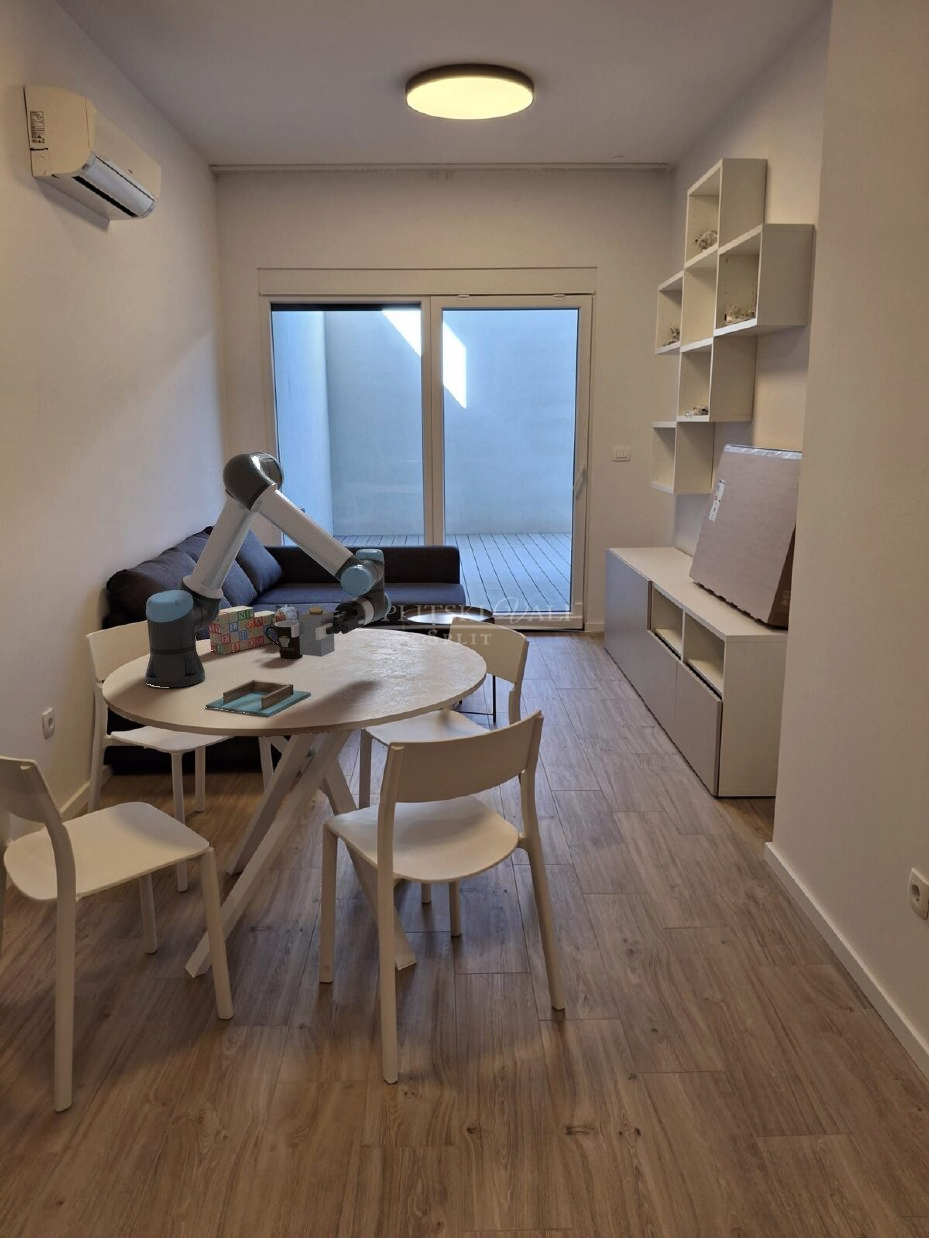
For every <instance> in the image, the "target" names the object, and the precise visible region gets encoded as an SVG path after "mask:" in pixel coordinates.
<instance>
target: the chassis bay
mask: <svg viewBox="0 0 929 1238" xmlns="http://www.w3.org/2000/svg"><path fill="white" fill-rule="evenodd" d="M311 693H312V692H311V691H302V690H295V689H294V684H291V683H290V684H289V683H282V682H277V681H276V682H273V681H267V680H266V681H265V680H258V679H252V680H249V681H248V682H245V683H243V684H240V685H238V686H236V687H234V688H231V689H229V690H226V691H224V692H223V693H222V695H223V696H222V697H221V698H217V699H216V700H214V701H211V702H209V703H207V704H205V708H206V707H207V708H206V709H209V708H218V709H223V710H228V711H227V712H230V711H234V712H233V713H237V712H242V713H241V714H244V713H243V712H245V713H249V714H248V715H252V714H254V715H253V716H259V715H262V716H261V717H266V716H267V717H266V718H269V717H271V716H273V715H275V714H277V713H279V712H281V711H283V710H285V709H287V708H289V707H291V706H292V705H295V704H296V703H298V702H300V701H302V700H304V699H306V698H308V697H311ZM223 710H222V711H223Z"/></svg>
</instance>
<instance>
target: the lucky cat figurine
mask: <svg viewBox="0 0 929 1238" xmlns="http://www.w3.org/2000/svg"><path fill="white" fill-rule="evenodd" d="M274 612H275V616H274V618H273V624H274V627H275V623H277V622H281V621H291V620H295V621H298V619H299V614H300V613H301V612H299V610H298V608H297V607H294V606H290V605H289V604H285V605H284V606H281V605H278V604H277V605H275V611H274Z"/></svg>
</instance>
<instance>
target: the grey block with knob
mask: <svg viewBox="0 0 929 1238" xmlns="http://www.w3.org/2000/svg"><path fill="white" fill-rule="evenodd" d="M333 611H334V610H324V608H323V606H316V605H315V606H309V608H308V610H306V611H304V612H299V613H300V614H299V636H300V654H301V655H303V656H312V657H313V656H314V657H318V658H319V657H320V658H322V657H324V656H327V655H329V654H331V653H333V652H335V634H334V633H333V634H332V635H329V636H327V637H325V638H322V639H320V640H316V628H318V627H321V626H323V625H326V624H329V623H333V620H334V619H333ZM333 625H334V623H333Z"/></svg>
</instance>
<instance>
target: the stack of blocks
mask: <svg viewBox="0 0 929 1238" xmlns="http://www.w3.org/2000/svg"><path fill="white" fill-rule="evenodd" d="M275 612H276V611H270V610H261V611H257V612H255V608H254V607H251V606H245V605H239V606H238V605H237V606H233V607H229V608H223V609H220V612H219V615H218V616H217V618H216V619H215V621H214V622H213V623H211V625H209V626H208V633H209V643H210V651H211V650H213V651H215V652H218V653H217V654H219V653H221V654H220V655H226V653H227V654H230V652H231V653H234V652H233V651H236V652H238V650H240V651H243V650H247V649H251V648H256V647H260V646H264V645H268V644H274V643H273V642H272V641H270V639H269V638H268V637H267V636H266V629H267V628H268V627H271V626H273V627H274V624H273V618H274V616H275ZM268 635H269V637H270V638H271V639H272V640H274V641H275V642H276V643H278V641H277V635H276V631H275V630H274V629H272V628H270V629H269V630H268ZM215 652H214V653H215Z"/></svg>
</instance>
